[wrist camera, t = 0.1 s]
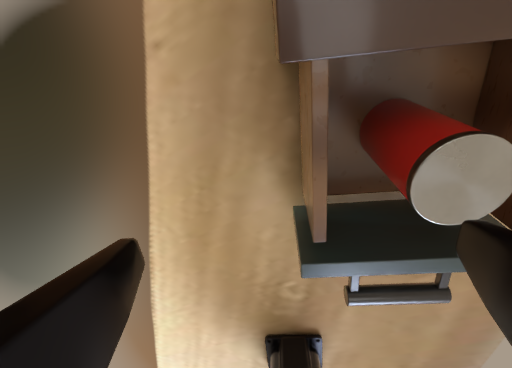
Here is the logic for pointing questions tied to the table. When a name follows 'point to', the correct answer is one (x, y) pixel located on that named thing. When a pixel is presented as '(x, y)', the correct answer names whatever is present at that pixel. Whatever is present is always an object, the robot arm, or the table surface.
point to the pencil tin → (438, 161)
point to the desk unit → (383, 26)
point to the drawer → (374, 179)
